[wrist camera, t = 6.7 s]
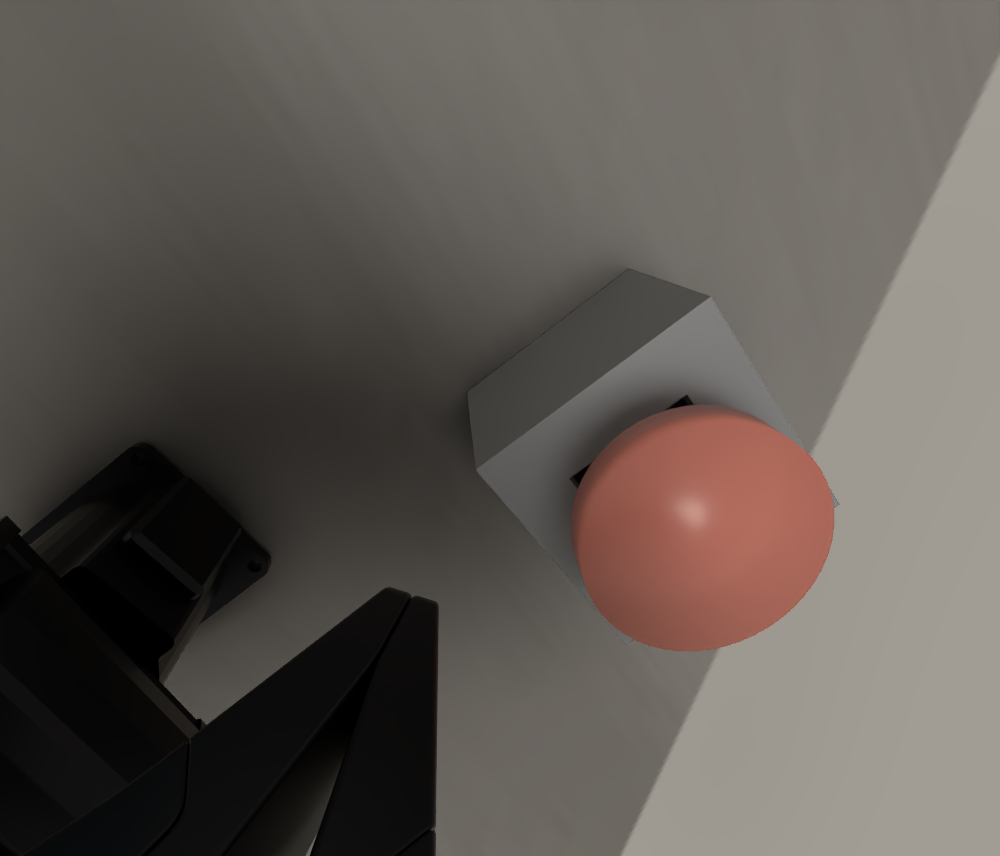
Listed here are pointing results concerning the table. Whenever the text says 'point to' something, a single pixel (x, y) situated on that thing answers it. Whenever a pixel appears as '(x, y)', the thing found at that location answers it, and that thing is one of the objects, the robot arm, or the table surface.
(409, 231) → the table surface
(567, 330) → the button housing
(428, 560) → the table surface
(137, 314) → the table surface
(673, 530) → the red plunger
